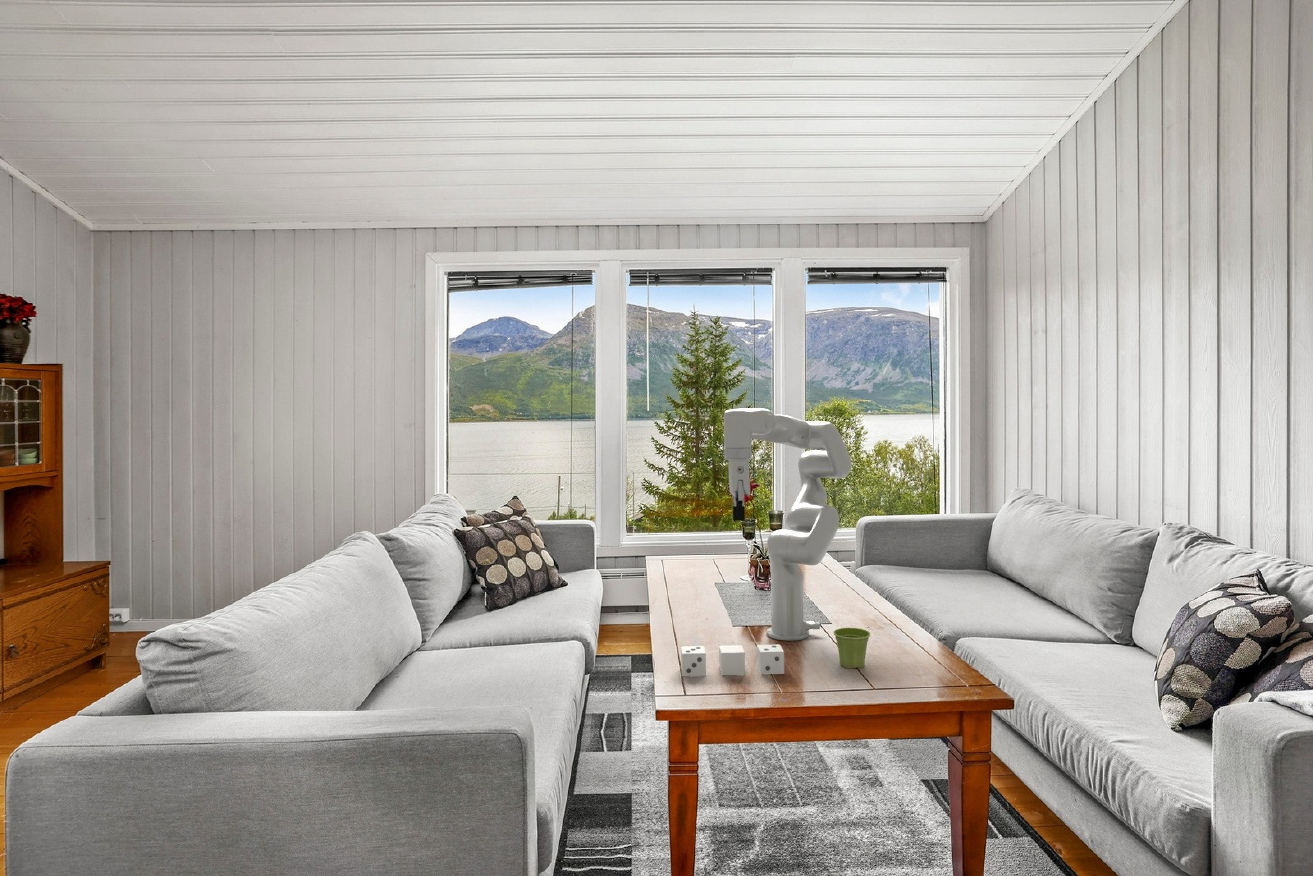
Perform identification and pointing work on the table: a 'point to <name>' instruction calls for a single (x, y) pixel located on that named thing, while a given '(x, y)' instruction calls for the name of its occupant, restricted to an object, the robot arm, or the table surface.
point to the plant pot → (852, 646)
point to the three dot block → (693, 661)
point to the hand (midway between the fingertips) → (738, 520)
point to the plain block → (732, 660)
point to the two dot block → (770, 659)
